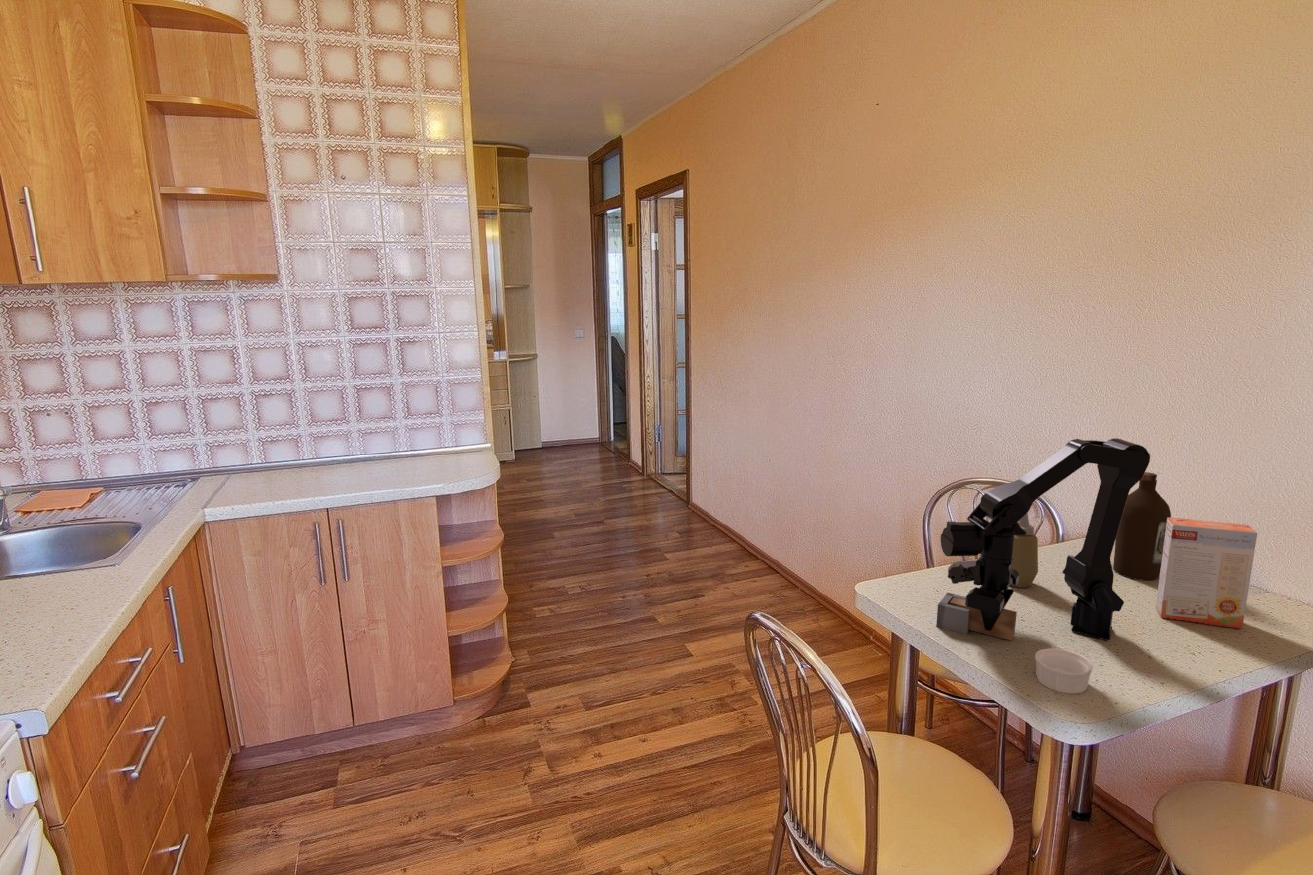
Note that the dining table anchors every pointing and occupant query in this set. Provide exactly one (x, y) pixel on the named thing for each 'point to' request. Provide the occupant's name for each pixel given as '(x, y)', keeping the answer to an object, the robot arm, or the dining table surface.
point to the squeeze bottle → (1025, 554)
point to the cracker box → (1206, 571)
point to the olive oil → (1142, 532)
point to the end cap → (952, 615)
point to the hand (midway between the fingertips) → (989, 626)
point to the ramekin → (1063, 670)
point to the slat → (1001, 627)
